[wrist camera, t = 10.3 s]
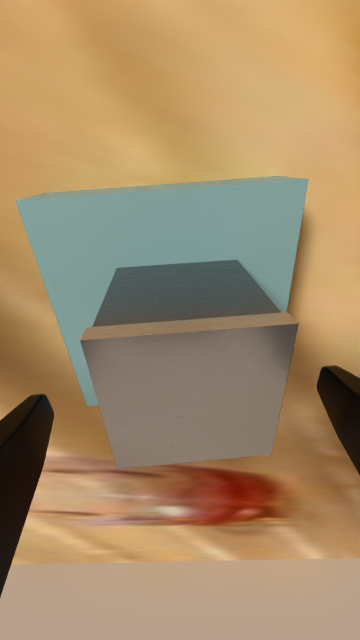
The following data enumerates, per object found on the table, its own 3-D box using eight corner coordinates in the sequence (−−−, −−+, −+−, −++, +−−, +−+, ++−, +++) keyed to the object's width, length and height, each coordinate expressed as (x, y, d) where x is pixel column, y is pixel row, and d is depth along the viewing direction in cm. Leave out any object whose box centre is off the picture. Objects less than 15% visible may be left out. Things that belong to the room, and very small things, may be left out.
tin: (131, 364, 14) (117, 469, 9) (114, 265, 11) (79, 340, 6) (233, 356, 14) (271, 454, 9) (239, 257, 11) (298, 323, 7)
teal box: (98, 367, 18) (87, 406, 15) (49, 192, 13) (15, 200, 10) (255, 352, 19) (273, 389, 16) (274, 175, 13) (308, 179, 10)
